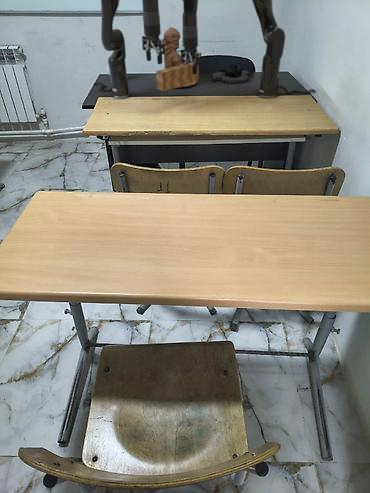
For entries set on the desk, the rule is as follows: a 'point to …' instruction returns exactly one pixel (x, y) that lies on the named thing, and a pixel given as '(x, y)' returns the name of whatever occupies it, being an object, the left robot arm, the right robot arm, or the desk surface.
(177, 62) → the sculpture
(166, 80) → the bar
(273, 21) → the right robot arm
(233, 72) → the abstract sculpture
